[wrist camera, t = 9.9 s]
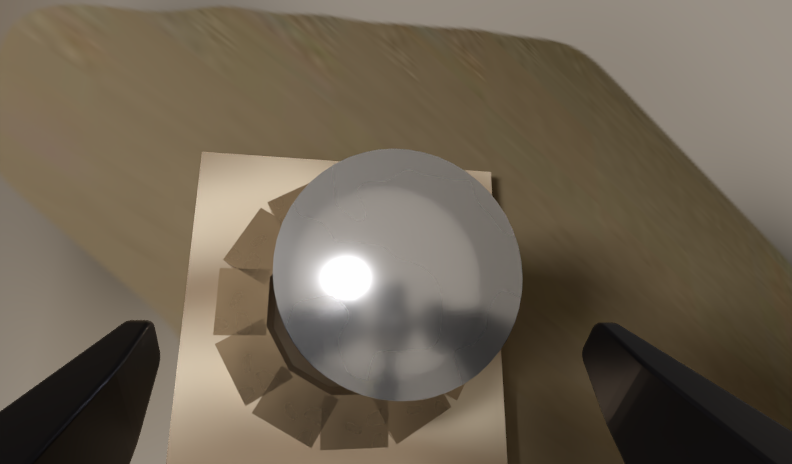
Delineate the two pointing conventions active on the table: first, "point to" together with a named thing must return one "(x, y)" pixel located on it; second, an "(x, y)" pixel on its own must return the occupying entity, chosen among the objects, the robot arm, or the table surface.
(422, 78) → the table surface
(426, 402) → the ring collar
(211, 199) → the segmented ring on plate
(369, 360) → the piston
